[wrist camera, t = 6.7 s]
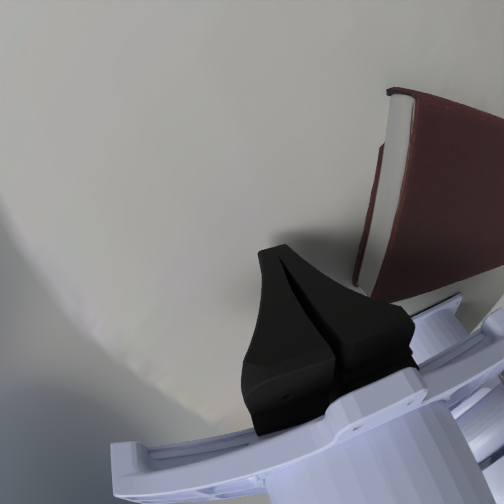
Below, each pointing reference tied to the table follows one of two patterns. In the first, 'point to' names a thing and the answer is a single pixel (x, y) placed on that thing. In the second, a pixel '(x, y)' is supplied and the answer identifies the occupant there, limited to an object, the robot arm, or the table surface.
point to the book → (433, 198)
